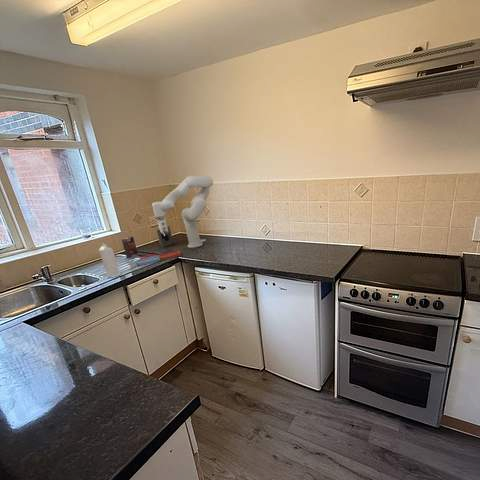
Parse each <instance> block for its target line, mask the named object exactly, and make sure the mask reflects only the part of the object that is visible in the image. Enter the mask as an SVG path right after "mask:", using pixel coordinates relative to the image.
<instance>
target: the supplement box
mask: <svg viewBox="0 0 480 480" xmlns="http://www.w3.org/2000/svg"><path fill="white" fill-rule="evenodd" d="M121 243H122V247H123V249H124V253H125V257H126V259H127V260H131V259H134V258H136V257H138V256H139V252H138V249H137V245H136V242H135V238H134V236H128V237H125V238H122V239H121Z"/></svg>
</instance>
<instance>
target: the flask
mask: <svg viewBox="0 0 480 480" xmlns="http://www.w3.org/2000/svg"><path fill="white" fill-rule="evenodd" d="M167 227H168V231H169V232H167V234H168V237H169V241H165V239H162V236H161V232H160V229H159V228H158V229H156V234H157V238H158V242H159V246H160V248H161V249H164V248H165V247H168V246H171V245H173V244H174V240H173V236H172V231H171V227H170V225H167Z"/></svg>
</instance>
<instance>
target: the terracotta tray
mask: <svg viewBox="0 0 480 480" xmlns="http://www.w3.org/2000/svg"><path fill="white" fill-rule="evenodd" d="M157 256H158V257H159V258H160V260H161V261H166V260H170V259H174V258H177V257H181V256H182V252H181V251H179V250H173V251H172V252H168V253H164V254H160V255H158V254H157ZM161 261H160V262H161Z"/></svg>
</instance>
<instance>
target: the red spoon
mask: <svg viewBox="0 0 480 480" xmlns="http://www.w3.org/2000/svg"><path fill="white" fill-rule="evenodd" d="M155 255H156V254H155V253H151V254H147V255H145V256H140V257H139V259H143V258H147V257H151V256H155Z"/></svg>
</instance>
